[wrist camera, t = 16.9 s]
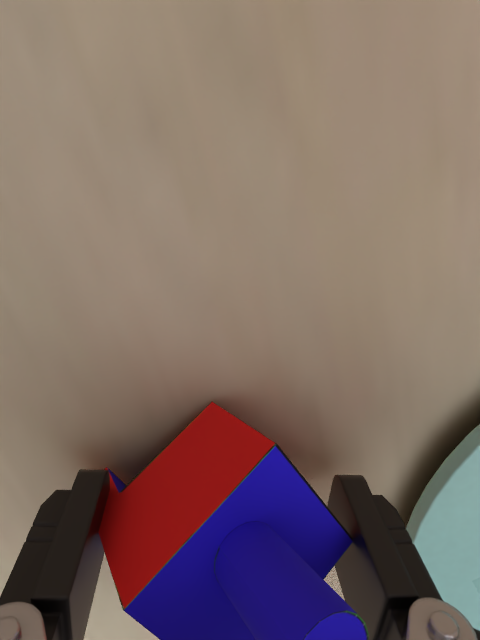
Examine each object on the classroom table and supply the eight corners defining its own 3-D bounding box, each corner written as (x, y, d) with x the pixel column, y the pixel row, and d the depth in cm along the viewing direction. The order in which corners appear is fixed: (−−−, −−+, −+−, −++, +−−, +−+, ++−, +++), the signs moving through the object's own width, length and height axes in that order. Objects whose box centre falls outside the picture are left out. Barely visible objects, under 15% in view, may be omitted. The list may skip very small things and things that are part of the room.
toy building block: (251, 459, 15) (457, 621, 8) (159, 558, 14) (306, 848, 7) (190, 387, 14) (370, 505, 7) (83, 489, 13) (168, 759, 6)
